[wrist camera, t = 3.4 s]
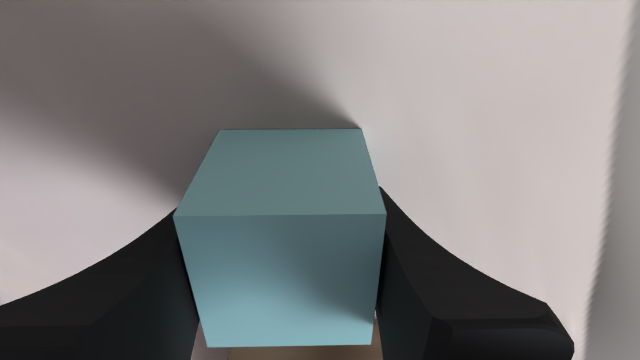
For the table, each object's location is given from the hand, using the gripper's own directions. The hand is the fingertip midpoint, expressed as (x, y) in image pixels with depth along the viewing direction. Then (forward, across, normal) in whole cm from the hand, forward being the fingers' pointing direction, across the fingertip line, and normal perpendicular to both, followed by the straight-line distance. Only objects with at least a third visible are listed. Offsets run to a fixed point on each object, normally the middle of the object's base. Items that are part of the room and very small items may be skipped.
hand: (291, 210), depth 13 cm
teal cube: (+1, 0, 0) cm, 1 cm away
